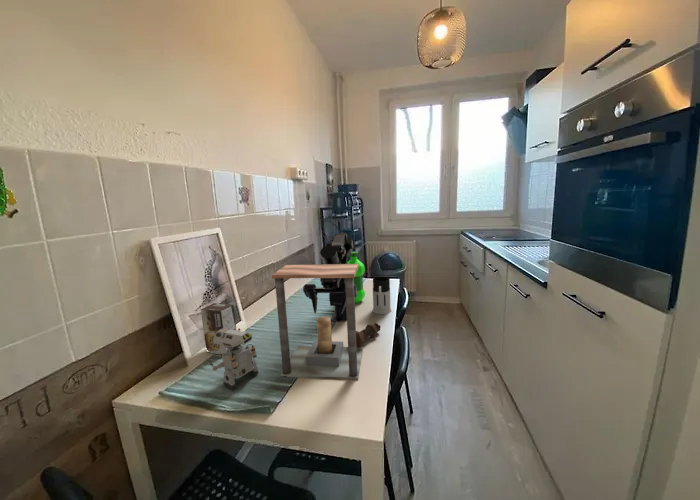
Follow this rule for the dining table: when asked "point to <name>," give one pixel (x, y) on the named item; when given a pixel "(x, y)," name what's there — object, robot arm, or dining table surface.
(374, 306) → the glass holder
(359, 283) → the plastic bottle
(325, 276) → the post and lintel frame
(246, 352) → the figurine
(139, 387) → the dining table surface
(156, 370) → the dining table surface
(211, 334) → the coffee box
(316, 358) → the socket
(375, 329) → the bolt
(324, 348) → the peg
